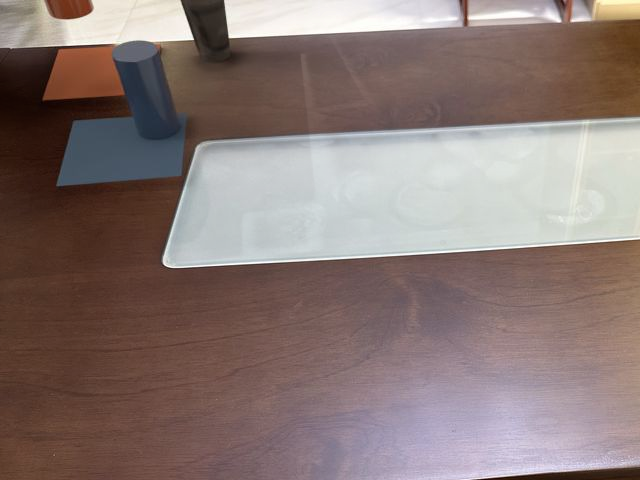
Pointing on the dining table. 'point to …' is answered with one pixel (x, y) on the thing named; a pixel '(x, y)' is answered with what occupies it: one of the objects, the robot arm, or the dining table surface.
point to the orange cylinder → (69, 8)
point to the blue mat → (119, 153)
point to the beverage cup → (208, 28)
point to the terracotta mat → (84, 74)
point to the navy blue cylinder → (146, 89)
